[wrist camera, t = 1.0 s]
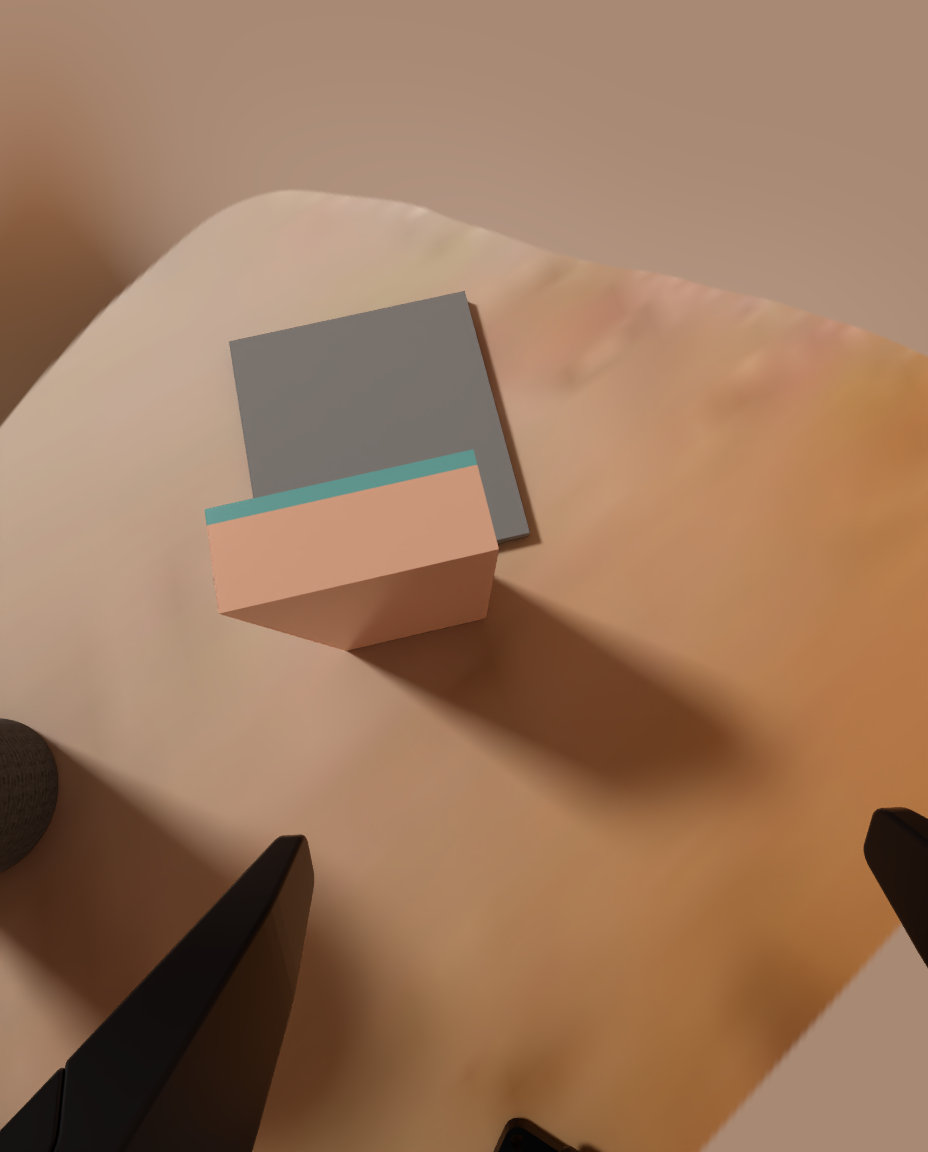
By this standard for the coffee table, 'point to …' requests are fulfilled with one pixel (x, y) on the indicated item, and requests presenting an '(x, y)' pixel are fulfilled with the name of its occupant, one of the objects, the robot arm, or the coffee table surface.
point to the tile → (360, 554)
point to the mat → (373, 401)
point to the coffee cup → (24, 790)
